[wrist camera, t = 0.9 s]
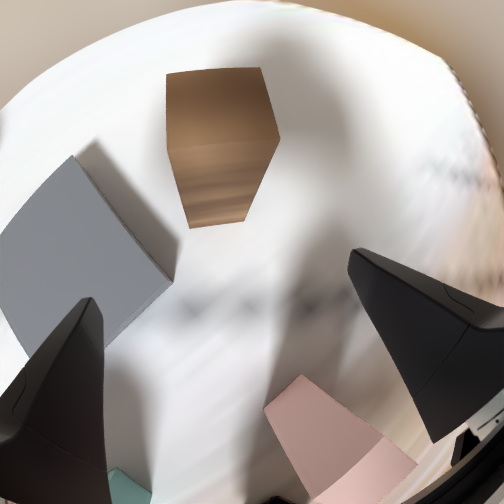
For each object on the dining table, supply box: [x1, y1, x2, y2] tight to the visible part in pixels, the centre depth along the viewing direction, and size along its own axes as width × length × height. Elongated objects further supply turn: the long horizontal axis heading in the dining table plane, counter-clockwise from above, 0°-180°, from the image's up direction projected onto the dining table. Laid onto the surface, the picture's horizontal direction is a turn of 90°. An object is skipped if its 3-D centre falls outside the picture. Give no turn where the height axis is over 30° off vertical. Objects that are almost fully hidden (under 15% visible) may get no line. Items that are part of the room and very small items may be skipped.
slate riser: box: [0, 155, 173, 358], centre depth 18 cm, size 14×14×3 cm
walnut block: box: [166, 68, 280, 229], centre depth 16 cm, size 4×4×12 cm
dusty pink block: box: [263, 374, 418, 504], centre depth 14 cm, size 4×4×12 cm
